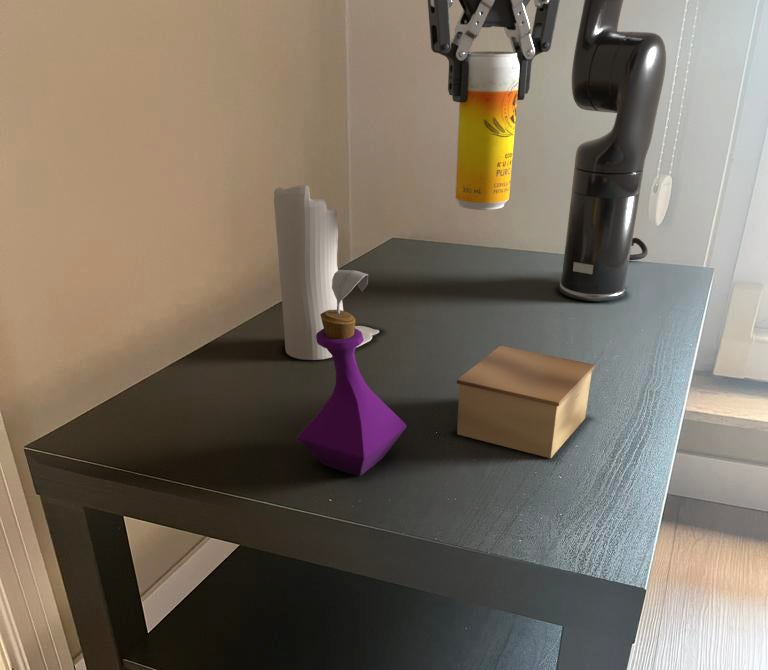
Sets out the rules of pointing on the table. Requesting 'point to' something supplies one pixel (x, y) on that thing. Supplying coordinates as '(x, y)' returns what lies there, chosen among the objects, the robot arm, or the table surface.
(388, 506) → the table surface
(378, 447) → the purple potion bottle
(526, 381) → the wooden box
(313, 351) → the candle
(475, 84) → the beer can
